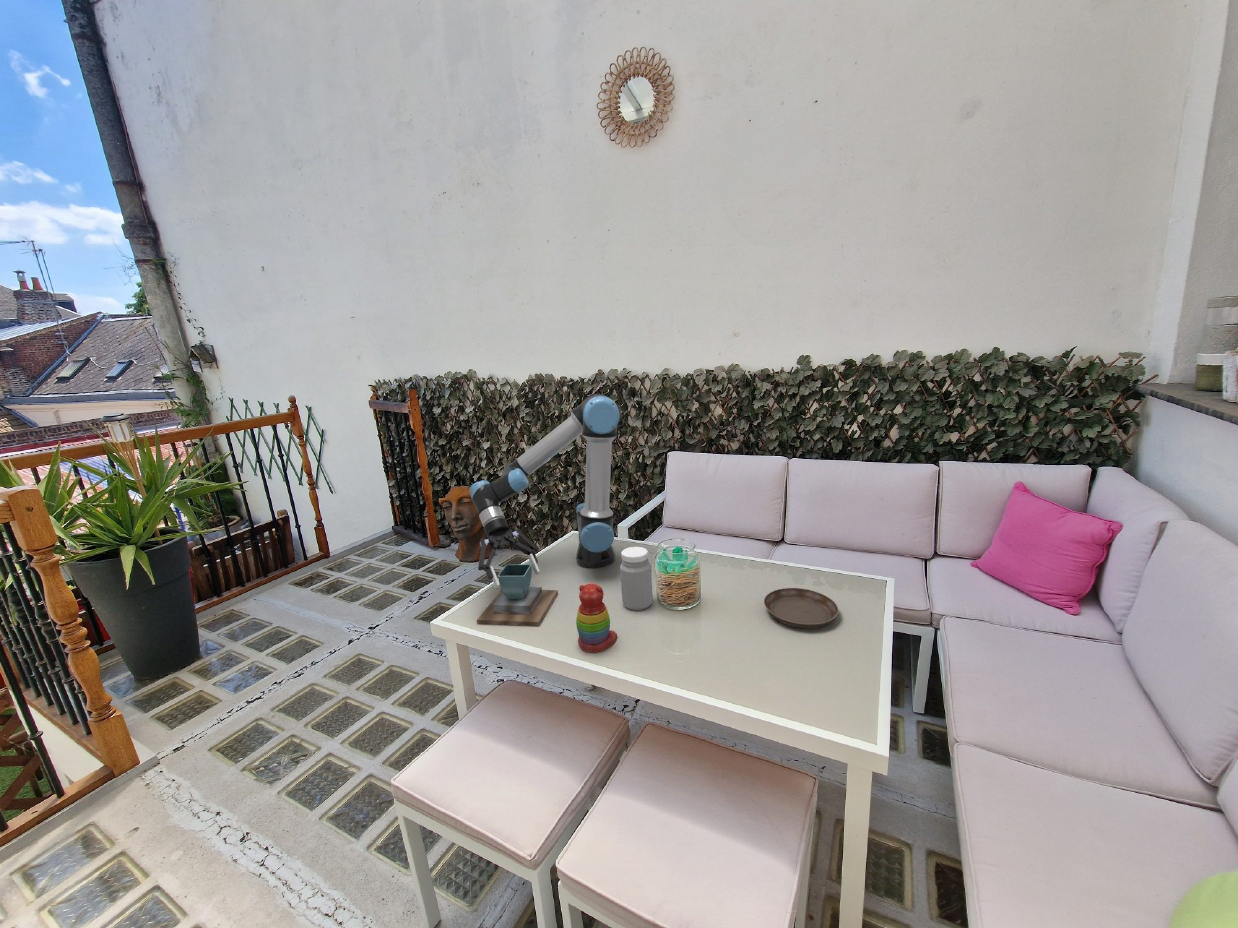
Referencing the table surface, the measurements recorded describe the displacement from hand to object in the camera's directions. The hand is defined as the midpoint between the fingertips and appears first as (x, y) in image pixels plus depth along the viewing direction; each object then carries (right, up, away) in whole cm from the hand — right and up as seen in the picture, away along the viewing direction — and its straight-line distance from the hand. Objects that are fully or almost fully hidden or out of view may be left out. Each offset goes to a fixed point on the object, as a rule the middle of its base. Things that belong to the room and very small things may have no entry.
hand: (518, 579), depth 159 cm
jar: (+38, -8, +2) cm, 39 cm away
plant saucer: (+85, -8, -10) cm, 86 cm away
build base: (-1, -10, +4) cm, 11 cm away
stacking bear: (+25, -14, -17) cm, 34 cm away
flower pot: (-1, -6, +3) cm, 7 cm away
